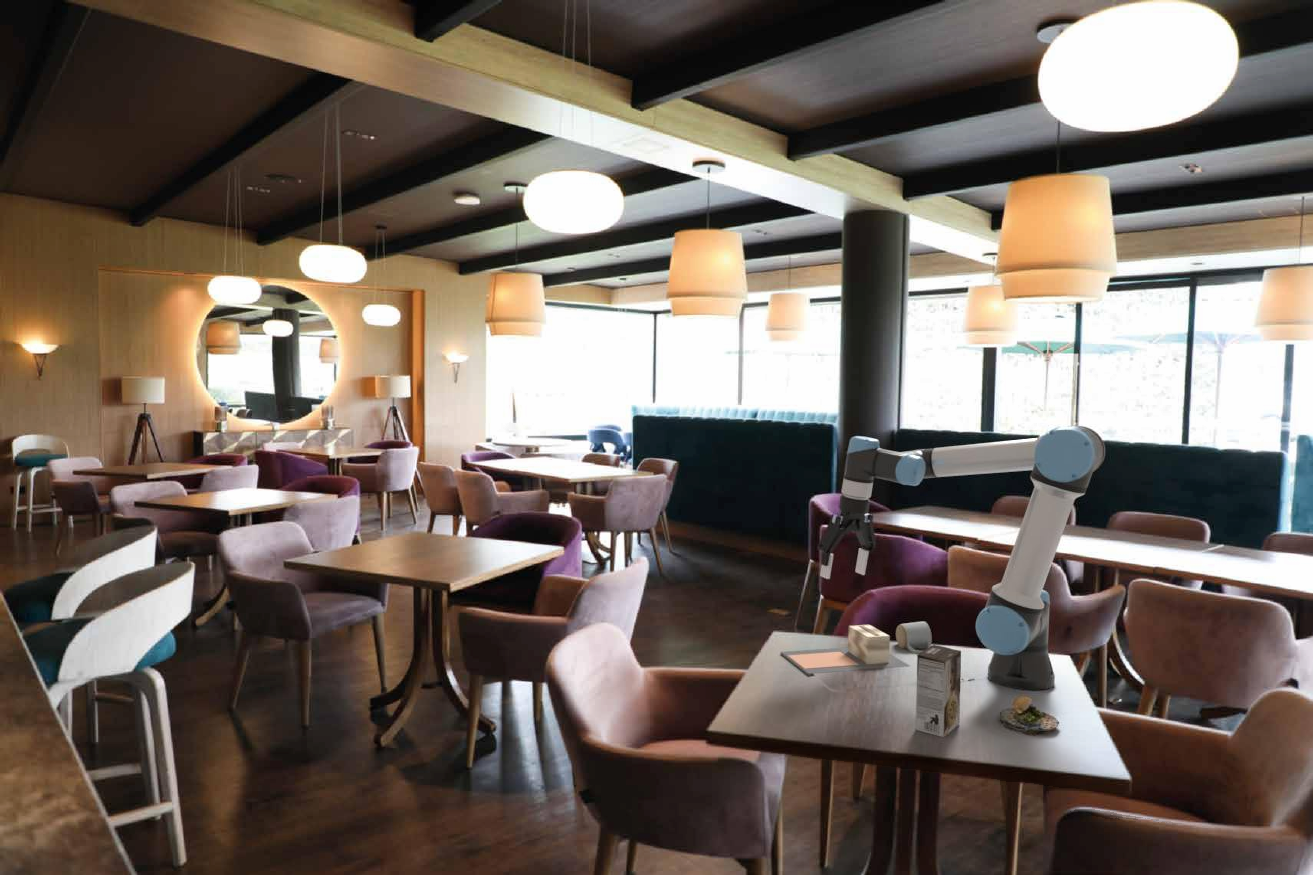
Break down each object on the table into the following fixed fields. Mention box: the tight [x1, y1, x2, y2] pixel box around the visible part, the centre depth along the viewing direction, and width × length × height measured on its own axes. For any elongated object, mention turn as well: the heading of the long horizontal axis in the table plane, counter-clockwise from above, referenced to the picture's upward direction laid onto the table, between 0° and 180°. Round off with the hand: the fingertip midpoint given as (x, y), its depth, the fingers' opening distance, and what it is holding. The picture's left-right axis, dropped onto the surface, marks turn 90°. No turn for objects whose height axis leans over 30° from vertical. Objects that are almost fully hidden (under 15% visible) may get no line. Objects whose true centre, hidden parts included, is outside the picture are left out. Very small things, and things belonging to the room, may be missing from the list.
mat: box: [780, 646, 911, 677], centre depth 223 cm, size 18×28×1 cm, turn 104°
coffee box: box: [915, 644, 962, 738], centre depth 179 cm, size 9×6×16 cm
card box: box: [847, 624, 891, 664], centre depth 224 cm, size 11×6×7 cm, turn 14°
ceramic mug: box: [895, 621, 933, 654], centre depth 233 cm, size 10×8×7 cm
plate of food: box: [998, 691, 1060, 736], centre depth 181 cm, size 12×12×8 cm
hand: (842, 575), depth 222 cm, fingers open, 13 cm apart
